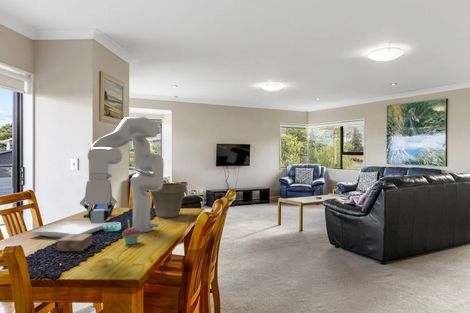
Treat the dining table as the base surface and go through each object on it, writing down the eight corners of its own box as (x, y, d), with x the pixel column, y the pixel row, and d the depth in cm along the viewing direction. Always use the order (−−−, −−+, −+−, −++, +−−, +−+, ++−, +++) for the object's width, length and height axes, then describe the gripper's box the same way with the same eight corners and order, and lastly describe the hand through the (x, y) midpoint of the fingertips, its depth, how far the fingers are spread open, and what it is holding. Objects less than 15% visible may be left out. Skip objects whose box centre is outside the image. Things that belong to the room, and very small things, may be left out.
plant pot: (157, 211, 238) (157, 181, 238) (190, 212, 235) (190, 182, 235) (143, 218, 214) (143, 185, 213) (179, 220, 210) (179, 186, 210)
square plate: (77, 241, 161) (77, 233, 161) (30, 238, 166) (30, 230, 166) (109, 228, 187) (109, 222, 187) (67, 226, 193) (67, 219, 193)
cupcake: (130, 246, 152) (130, 220, 152) (117, 243, 156) (118, 218, 156) (144, 242, 159) (144, 217, 159) (132, 239, 164) (132, 215, 163)
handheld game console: (82, 217, 217) (82, 203, 217) (96, 214, 230) (96, 200, 229) (102, 219, 213) (102, 204, 212) (115, 215, 225) (115, 201, 225)
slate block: (106, 220, 142) (106, 209, 142) (103, 223, 137) (103, 211, 137) (94, 220, 141) (93, 209, 141) (90, 223, 136) (90, 211, 136)
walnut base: (92, 244, 156) (92, 234, 155) (82, 251, 145) (82, 240, 144) (68, 244, 155) (68, 234, 155) (56, 251, 144) (56, 240, 144)
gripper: (121, 176, 144) (121, 217, 144) (79, 176, 141) (79, 218, 141) (117, 177, 136) (118, 221, 137) (74, 178, 134) (74, 222, 134)
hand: (98, 219), depth 139 cm, fingers closed on slate block, 5 cm apart
